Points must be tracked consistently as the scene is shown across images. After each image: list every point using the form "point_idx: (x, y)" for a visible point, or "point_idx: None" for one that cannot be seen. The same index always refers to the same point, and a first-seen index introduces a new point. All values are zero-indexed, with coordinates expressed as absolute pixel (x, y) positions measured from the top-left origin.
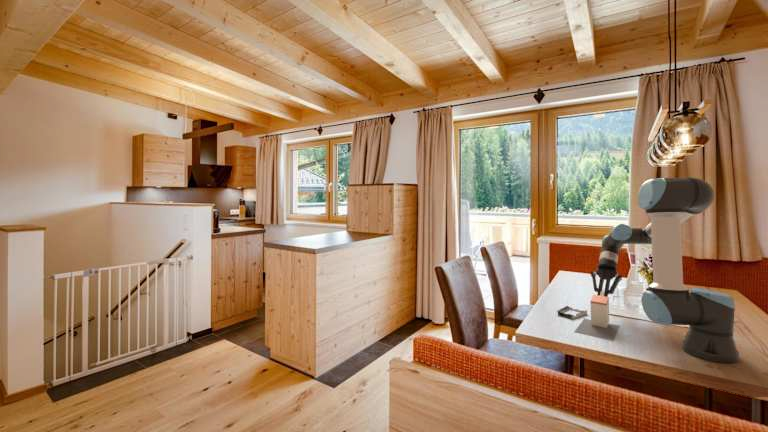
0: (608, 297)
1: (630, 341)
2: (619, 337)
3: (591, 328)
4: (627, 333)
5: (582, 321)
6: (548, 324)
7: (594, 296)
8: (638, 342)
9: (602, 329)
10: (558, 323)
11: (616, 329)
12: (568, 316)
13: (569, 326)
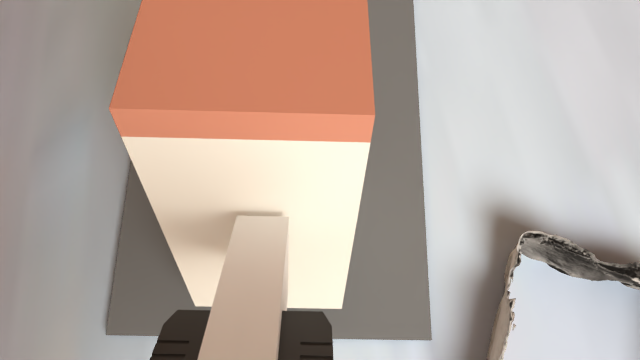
0: (116, 91)
1: (54, 19)
2: (122, 51)
3: None
4: (60, 174)
5: (422, 233)
6: (611, 18)
7: (338, 65)
8: (3, 31)
9: None
10: (565, 81)
11: (139, 197)
12: (562, 258)
13: (474, 65)
